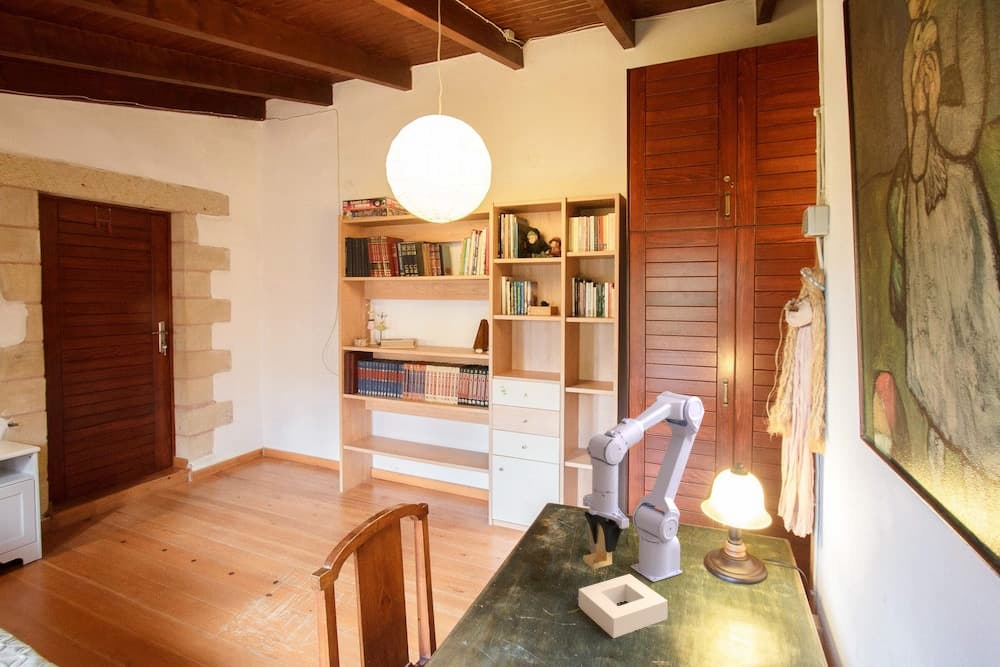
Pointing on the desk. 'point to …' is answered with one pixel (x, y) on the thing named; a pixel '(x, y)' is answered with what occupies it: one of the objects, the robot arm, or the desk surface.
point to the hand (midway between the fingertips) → (604, 546)
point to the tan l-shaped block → (599, 551)
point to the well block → (625, 618)
